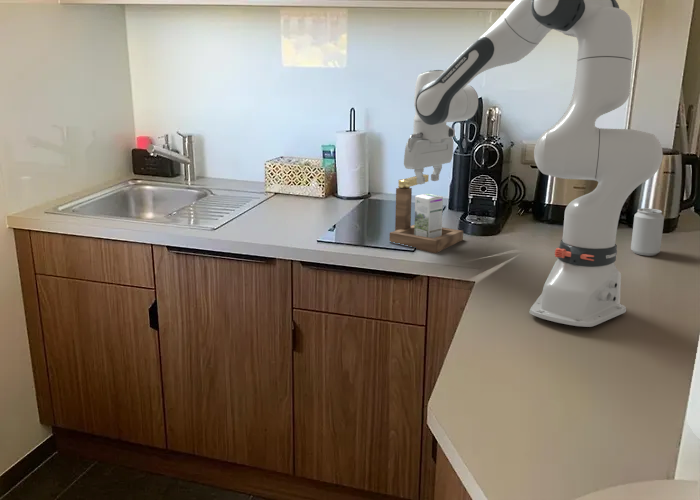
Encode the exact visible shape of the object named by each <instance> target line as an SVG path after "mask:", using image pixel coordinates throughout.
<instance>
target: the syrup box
mask: <svg viewBox="0 0 700 500" xmlns="http://www.w3.org/2000/svg"><path fill="white" fill-rule="evenodd" d="M414 196H415V197H414V225H415V228H414V235H417V236H423V237H429V238H436V237H439V236H441V235H442V227H443V209H444V208H443V207H444V205H443V203H444V196H440V195H438V194H437V195H436V194H431V193H422V194H419V195H414Z"/></svg>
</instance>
